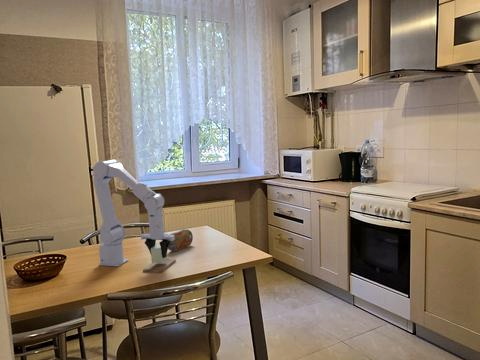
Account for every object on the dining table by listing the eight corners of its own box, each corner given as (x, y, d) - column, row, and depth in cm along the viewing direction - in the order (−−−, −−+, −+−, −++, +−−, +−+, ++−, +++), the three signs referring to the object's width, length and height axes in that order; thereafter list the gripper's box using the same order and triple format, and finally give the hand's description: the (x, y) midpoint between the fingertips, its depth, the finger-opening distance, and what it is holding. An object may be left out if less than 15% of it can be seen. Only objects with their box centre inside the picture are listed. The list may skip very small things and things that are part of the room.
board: (143, 273, 153) (142, 269, 153) (159, 261, 165) (158, 258, 165) (161, 274, 150) (160, 270, 150) (175, 262, 163) (175, 259, 163)
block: (151, 262, 156) (150, 248, 155) (157, 258, 160) (156, 244, 160) (161, 263, 155) (160, 248, 154) (167, 259, 159) (166, 245, 158)
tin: (170, 253, 173) (169, 235, 172) (165, 252, 175) (164, 234, 174) (193, 244, 185) (192, 227, 184) (189, 243, 187) (187, 227, 186)
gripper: (177, 222, 157) (179, 254, 159) (146, 221, 161) (148, 252, 163) (168, 227, 150) (171, 260, 152) (136, 225, 155) (139, 258, 157)
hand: (159, 256), depth 157 cm, fingers closed on block, 4 cm apart
